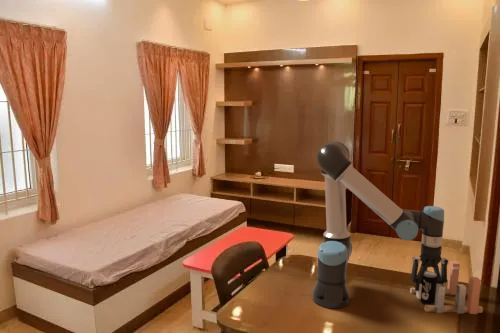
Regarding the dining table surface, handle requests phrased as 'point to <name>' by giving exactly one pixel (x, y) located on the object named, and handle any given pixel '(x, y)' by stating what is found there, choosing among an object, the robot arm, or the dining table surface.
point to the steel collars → (441, 294)
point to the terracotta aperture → (472, 291)
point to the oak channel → (446, 307)
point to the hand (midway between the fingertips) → (427, 297)
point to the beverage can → (428, 287)
